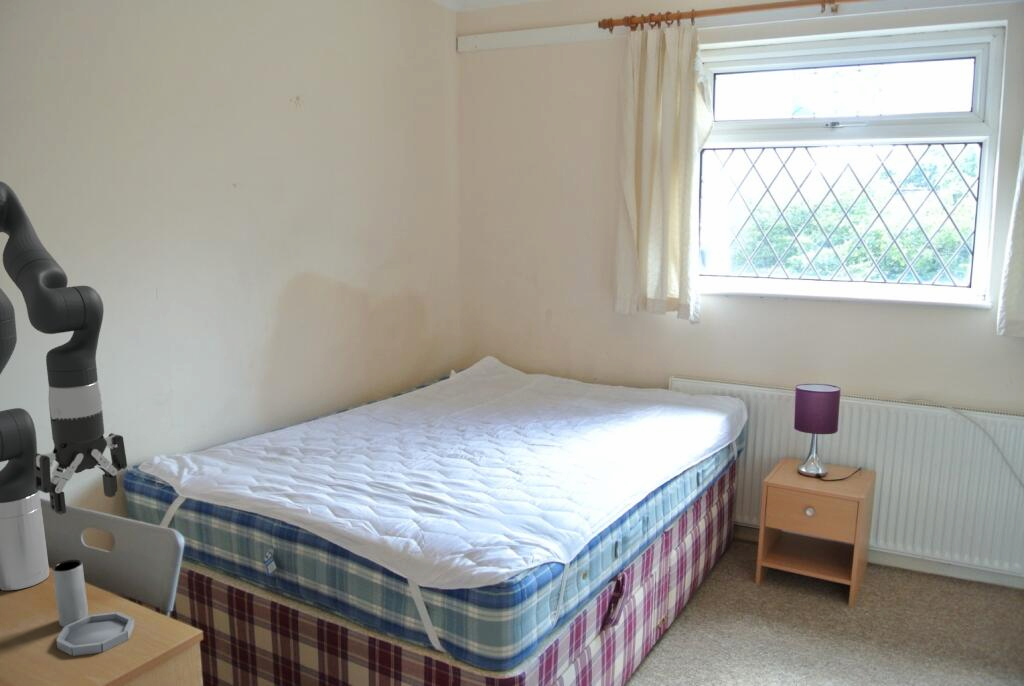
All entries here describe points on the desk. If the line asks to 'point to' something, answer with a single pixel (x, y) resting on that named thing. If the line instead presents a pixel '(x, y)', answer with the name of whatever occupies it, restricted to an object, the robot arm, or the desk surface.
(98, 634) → the saucer
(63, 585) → the planter
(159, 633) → the desk surface
